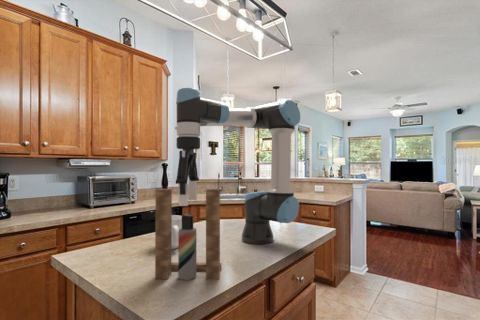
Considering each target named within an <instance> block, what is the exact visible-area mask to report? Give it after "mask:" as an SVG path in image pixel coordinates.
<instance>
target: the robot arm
mask: <svg viewBox="0 0 480 320" xmlns="http://www.w3.org/2000/svg"><path fill="white" fill-rule="evenodd" d="M300 122H301V111H300V109H299V106H298V105H297V104H296V103H295V101H293V100H291V99H283V100H282V99H281V100H279V101H278V100H277V101H275V102H271V103H270V102H269V103H265V104H261V105H258V106H253V107H251V106H247V107H246V108H231V107H229V105H228V104H227V103H225V102H223V101H219V100H218V101H216V100H212V99H208V98H204V97H202V96H201V92H200V90H199V89H197V88H193V87H182V88H179V89H178V90H177V92H176V126H175V127H174V129H175V130H176V136H177V137H176V149H178V150H179V155H178V156H179V159H178V165H177V166H178V168H177V173H176V174H177V175H176V180H175V184H176V185H177V184H178V206H180V207H181V206H183V207H184V206H185V207H187V206H189V201H197V198H198V197H197V196H198V194H197V193H198V192H197V191H198V190H197V188H198V187H197V186H198V184H197V182H198V181H200V178H199V176H198V175H199V174H198V166H197V152H194V150H200V148H201V138H200V136H201V127H245V128H247V129H262V130H268V132H269V134H271V155H270V157H271V162H270V163H271V164H270V166H271V167H270V169H271V170H270V188H269V189H268V190H266V191H265V190H264V191H255V192H247V193H246V194H245V197H244V199H245V200H244V212H245V213H244V218H245V223H244V227H243V230H242V233H241V240H242V242H243V243H246V244H252V245H265V244H270V243H272V242H273V241H274V233H273V231H272V227H271V225H270V223H271V221H272V222H275V223H276V222H277V223H280V224H291V223H292V222H293V221H295V220H296V218H297V216H298V215H299V210H300V202H299V200H298V198H297V197H296V196H295V193H294V191H293V189H292V188H291V171H292V170H291V169H292V167H291V166H292V165H291V164H292V163H291V162H292V160H291V159H292V157H291V156H292V135H293V134H294V132H295V129H296V128H295V127H296V126H297V125H299V124H300ZM188 179H189V180H188Z"/></svg>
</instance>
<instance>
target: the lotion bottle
mask: <svg viewBox="0 0 480 320" xmlns="http://www.w3.org/2000/svg"><path fill="white" fill-rule="evenodd" d="M181 216H182V228H181V229H179V236H178V247H177V248H178V259H177V260H178V272H177V273H178V278H179V279H180V280H183V281H190V280H193V279H195V278H197V271H196V263H197V228H195V227H194V220H195V219H194V218H195V217H194V215H193V214H191V213H183V214H182V215H181Z"/></svg>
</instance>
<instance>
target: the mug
mask: <svg viewBox="0 0 480 320" xmlns="http://www.w3.org/2000/svg"><path fill="white" fill-rule="evenodd" d="M182 216H183V215H178V214H177V215H176V214H172V250H174V249H177V248H178V236H179V229H181V228H182Z"/></svg>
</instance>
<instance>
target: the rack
mask: <svg viewBox="0 0 480 320" xmlns="http://www.w3.org/2000/svg"><path fill="white" fill-rule="evenodd" d="M172 190H173V188H157V189H155V212H154V213H155V215H154V217H155V222H154V223H155V224H154V225H155V229H154V230H155V233H154V234H155V236H154V237H155V239H154V243H155V247H154V248H155V250H154V251H155V254H154V256H155V257H154V259H155V264H154V269H155V270H154V271H155V272H154V273H155V274H154V276H155V277H154V279H155V280H168V279H169V278H170V277H171V276H172V271H178V262H172V250H173V249H172V215H173V214H172V213H173V212H172V210H173V209H172V206H173V203H172V199H173V198H172V197H173V196H172V195H173V194H172V192H173V191H172ZM197 271H203V272H205V280H214V281H215V280H219V279H220V277H221V276H220V275H221V271H222V262H221V189H220V188H207V189H205V262H196V272H197Z"/></svg>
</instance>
